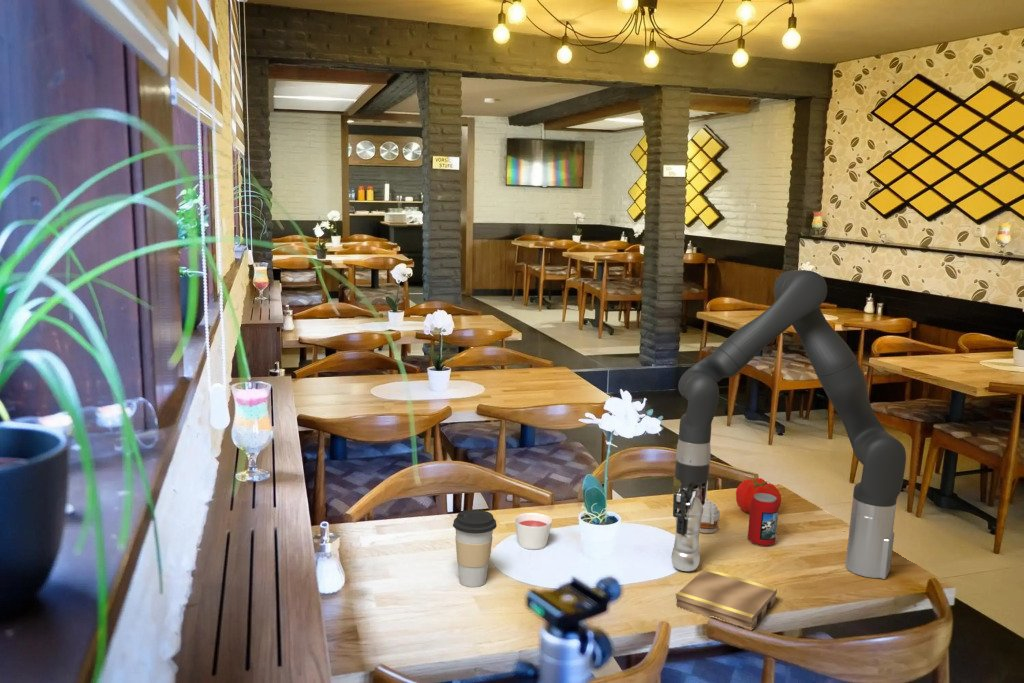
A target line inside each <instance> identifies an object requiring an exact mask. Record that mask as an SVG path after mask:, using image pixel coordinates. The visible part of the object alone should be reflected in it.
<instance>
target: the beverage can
mask: <svg viewBox="0 0 1024 683" xmlns="http://www.w3.org/2000/svg"><path fill="white" fill-rule="evenodd" d="M779 508H780V507H779V504H778V502H777V500H776V497H775V496H773V495H770V494H765V493H758V494H755V495H754V497H753V499H752V500H751V504H750V513H749V514H748V515H749V517H748V529H747V540H749V541H750V542H751V543H752V544H754V545H756V546H760V547H770V546H771V545H773V544H775V542H776V539H777V538H776V537H777V528H778V518H779Z"/></svg>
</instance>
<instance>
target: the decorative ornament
mask: <svg viewBox="0 0 1024 683" xmlns="http://www.w3.org/2000/svg"><path fill="white" fill-rule="evenodd" d="M708 485H709V480H708V481H707V487H706V496H705V504H704V505H703V514H702V519H701V524H700V531H699V533H704V534H710V533H715V532H718V530H720V526H719V524H718V523H719V522H720V518H721V510H719V507H718V506H717V505H716V503H715V502H714V501H710V499H709V498H707V497H708V487H709V486H708ZM720 523H721V522H720Z"/></svg>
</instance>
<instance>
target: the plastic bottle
mask: <svg viewBox="0 0 1024 683" xmlns="http://www.w3.org/2000/svg"><path fill="white" fill-rule="evenodd" d="M693 489H694V490H697V491H698V493H697V497H696V498H695V501H694V505H693V508H692V510H689V516H688V524H687V533H686V534H685V535H682V534H678V533H677V518H676V517H675V537H674V544H673V547H672V552H671V556H670V557H671V563H672V565H673V567H674V568H675V569H676V570H679V571H682V572H683V571H684V572H693V571H696V570H697V568H698V567H699V564H700V561H701V558H700V557H701V555H700V545H699V544H700V541H699V540H700V538H699V537H700V532H699V531H700V524H701V519H702V514H703V505H702V503H701V501H700V500H699V498H698V495H699V486H698V488H693ZM689 504H690V503H686V505H689ZM677 509H678V508H677ZM685 512H686V508H685ZM680 513H681V511H680Z"/></svg>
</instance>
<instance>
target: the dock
mask: <svg viewBox="0 0 1024 683" xmlns="http://www.w3.org/2000/svg"><path fill="white" fill-rule="evenodd" d="M777 591H778V589H777V588H776V587H773V586H772V587H771V586H770V585H765V584H762V583H759V582H755V581H752V580H749V579H745V578H741V577H738V576H734V575H731V574H728V573H725V572H721V571H717V570H714V569H710V568H708V567H707V568H706V567H705V568H704V569H703V570H702V571H701V572H699V573H698V574H697V575H696V576H695V577H694V578H693V579H691V580H690V581H689V582H688V583H687V584H686V585H685V586H683V588H681V589H680V590H679V591H677V592H676V594H675V599H676V602H675V603H676V605H675V606H677V607H676V608H679V607H680V608H679V609H682V608H683V609H682V610H685V609H686V610H685V611H688V610H690V611H689V612H691V611H693V612H692V613H694V612H696V613H695V614H697V613H698V615H700V614H702V615H701V616H703V615H705V616H704V617H707V618H710V616H714V617H717V618H720V619H722V620H725V621H728V622H731V623H735V624H738V625H742V626H746V627H751V628H754V629H755V627H756V626H757V625H758V624H757V623H758V619H759V620H762V619H763V618H764V617H765V615H767V609H768V608H769V609H771V608H772V607H773V606H774V605H775V603H776V596H777Z"/></svg>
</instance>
